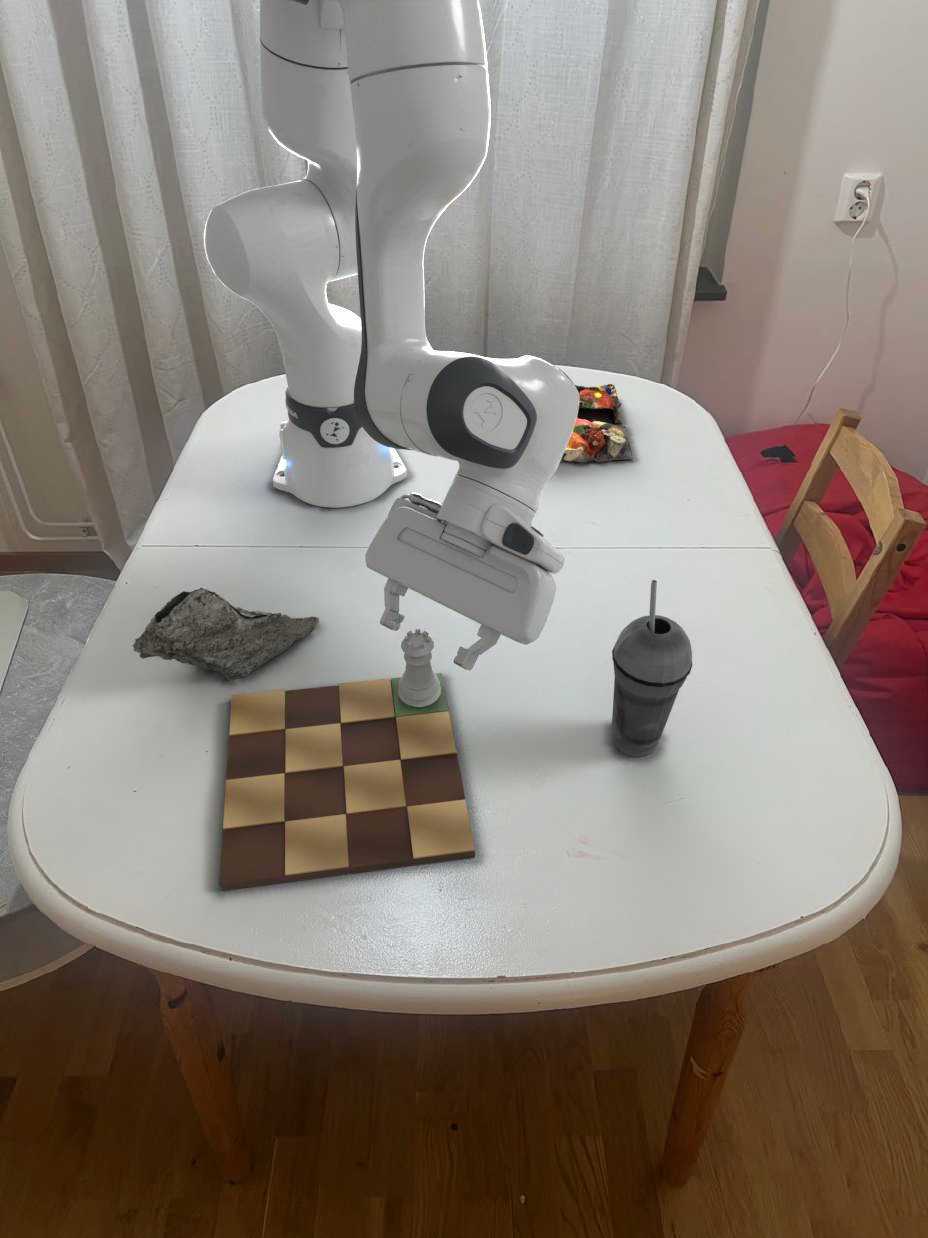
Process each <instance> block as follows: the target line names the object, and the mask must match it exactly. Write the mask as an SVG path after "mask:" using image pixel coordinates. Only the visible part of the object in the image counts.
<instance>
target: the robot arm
mask: <svg viewBox="0 0 928 1238" xmlns="http://www.w3.org/2000/svg"><path fill="white" fill-rule="evenodd" d="M486 47H487V46H486V39H485V31H484V23H483V17H482V9H481V5H480V0H259V52H260V56H259V57H260V88H261V90H260V91H261V92H260V93H261V114H262V117H263V120H264V123H265V125H266V127H267V129H268V131H269V133H270V134H271V136H272V137H273V139H274V140H275V141H276V142H277V143H278V145H280V146H281V147H282V148H284V149H285V150H287V151H288V152H289V153H292V154H293V155H296V156H297V157H299V158H302V159H304V160H306V161H307V173H306V175H305V177H304V178H301V179H299V180H296V181H290V182H285V183H279V184H276V185H269V186H264V187H260V188H259V187H258V188H254V189H248V190H247V191H244V192H242V193H240V194H238V195H235V196H233V197H231V198H229V199H227V200H225V201H222V202H221V203H218V204H217V205H215V206H213V207H212V209H211V210H210V212H209V214H208V216H207V219H206V221H205V226H204V233H203V239H204V240H203V242H204V243H203V245H204V250H205V254H206V259H207V262H208V264H209V266H210V268H211V270H212V272H213V274H214V275H215V276H216V278H217V279H218V280H219V281H220V283H222V285H223V286H224V287H225V288H227V290H229V291H230V292H232V293H233V294H235V295H237V297H240V298H242V299H245V300H246V301H248V302H249V303H250V304H252V305H254V306H255V307H256V308H257V309H258V310H260V311H261V313H262V314H263V315H264V316H265V317H266V319H267V320H268V322H269V323H270V325H271V326H272V328H273V330H274V332H275V335H276V338H277V340H278V345H279V348H280V354H281V358H282V362H283V366H284V367H283V368H284V373H285V379H286V388H285V392H284V395H285V400H284V401H285V407H286V411H287V417H288V420H287V421H284V420H283V421H281V422H280V429H279V435H278V436H279V440H280V441H279V442H280V448H281V456H280V459H279V461H278V464H277V465H276V468H275V471H274V474H273V477H272V486H273V488H274V489H276V490H280V491H283V492H286V493H290V494H291V495H293V496H294V497H296V498H297V499H299V500H300V501H302V502H304V503H307V504H308V505H312V506H316V507H322V508H330V509H331V508H332V509H333V508H338V509H339V508H348V507H355V506H359V505H363V504H366V503H368V502H371V501H374V500H375V499H377V498H378V497H379V496H381V495H383V494H384V493H385V492H386V491H387V490H389V488H390V487H391V486H392V485H394V484H397V483H398V482H401V481H403V480H405V479H406V478H407V477H408V470H407V467H406V465H405V464H404V462H403V460H402V459H401V457H400V456H399V454H398V452H397V450H406V451H415V452H418V453H422V454H425V455H429V456H433V457H439V458H442V459H446V460H451V461H456V462H458V469H457V472H456V473H455V476H454V477H453V480H452V482H451V484H450V486H449V489H448V490H447V492H446V495H445V497H444V500H443V501H442V503H441V502H438V501H436V500H435V499H434V500H433V499H431V498H427V497H425V496H424V495H422V494H421V493H418V492H411V493H410V494H403V495H401V496H399V497H397V498H396V499H394V501H393V503H392V505H391V508H390V509H389V511H388V514H387V517H386V518H385V520H384V522H383V523H382V524H381V526H380V527H379V529H378V530H377V532H376V534H375V536H374V537H373V539H372V541H371V542H370V544H369V546H368V548H367V549H366V552H365V555H364V556H365V558H364V559H365V565H366V568H367V569H369V570H371V571H373V572H375V573H377V574H379V575H381V576H383V577H385V578H387V581H386V583H385V585H384V587H383V594H384V595H383V596H384V597H383V598H384V608H385V609H384V610H383V613H382V615H381V618H380V620H379V624H380V625H381V626H382V627H384V628H386V629H389V630H391V631H395V632H397V631H399V629H400V628H401V623H403V622H404V619H405V617H406V616H405V615H403V614H401V612H400V596H402V597H405V596H406V594H407V591H408V590H411V591H413V592H416V593H417V594H420V595H421V596H423V597H425V598H427V599H430V600H431V601H433V602H435V603H437V604H439V605H441V606H444V607H445V608H448V609H450V610H451V611H454V612H455V613H458V614H459V615H462V616H464V617H465V618H468V619H470V620H472V621H474V622H476V623H477V624H480V627H479V629H478V631H477V633H476V636H477V637H479V639H478V640H477V641H476V642H474V643H473V644H472V645H470V646H469V647H468V648H467V647H463V646H459V647H458V650H457V652H456V655H455V656H454V658H453V664H454V665H457V666H458V667H461V668H462V669H464V670H466V671H472V670H473V669H474V667H475V665H476V663H477V660H478V658H479V657H480V656H481V655H483V654H484V653H486V652H487V651H488V650H490V649H491V648H493V647H494V646H495V645H496V644H498V642H499V639H500V637H501V635H502V636H504V637H505V638H508V639H510V640H512V641H514V642H516V643H518V644H522V645H525V646H526V645H530V644H531V643H533V642H535V641H537V640H538V639H539V637H540V635H541V633H542V631H543V629H544V627H545V625H546V623H547V620H548V617H549V615H550V612H551V610H552V606H553V603H554V600H555V597H556V591H557V590H556V589H557V585H556V580H555V577H553V575H552V574H558V573H559V572H560V571H561V570H562V568H563V565H564V563H565V556H564V554H563V553H562V552H561V551H560V550H559V549H557V548H556V547H555V545H553V544H552V543H551V542H550V541H549V540H547V539H546V538H545V537H544V534H543V533H542V532H541V531H540V530H538V529H537V528H535V527H534V526H532V524H533V523H532V522H533V520H534V518H535V516H536V514H537V512H538V509H539V502H540V497H541V494H542V492H543V490H544V488H545V486H546V484H547V483H548V482H549V481H550V480H551V479H552V478H553V476H554V475H555V473H556V471H557V469H558V468H559V465H560V463H561V461H562V458H563V456H564V454H565V453H564V452H565V450H566V447H567V445H568V443H569V440H570V437H571V435H572V432H573V429H574V426H575V423H576V419H577V416H579V409H580V408H579V401H580V398H579V393H578V390H577V388H576V387H575V385H576V384H575V383H574V381H573V380H572V379H571V378H570V376H568V374H566V373H565V372H564V371H563V370H561V369H560V368H559V367H558V366H556V365H553V364H552V363H550V362H549V361H548V360H546V359H544V358H541V357H537V356H533V355H523V356H522V355H521V356H520V357H518V358H493V357H485V356H481V355H478V354H474V353H467V352H459V351H450V350H446V351H445V350H442V351H441V350H434V349H433V348H432V346H431V344H430V343H429V340H428V337H427V333H426V310H425V307H426V306H425V303H426V302H425V277H424V276H425V274H424V273H425V271H424V267H425V266H424V257H425V256H424V255H425V249H426V245H427V240H428V237H429V235H430V233H431V231H432V228H434V225H435V223H436V222H437V221H438V219H439V218H440V216H442V214H443V213H444V211H445V210H446V209H447V208H448V207H449V205H451V204H452V203H453V202H454V201H455V200H456V199H457V198H459V197H460V195H462V194H463V193H464V192H465V191H466V190H467V188H469V186H470V185H471V184H472V182H473V181H474V179H476V177H477V175H478V174H479V172H480V170H481V168H482V166H483V165H484V162H485V160H486V159H487V155H488V148H489V141H490V131H491V117H492V113H491V109H492V108H491V94H490V93H491V92H490V80H489V71H488V70H489V69H488V59H487V57H488V56H487V48H486ZM356 275H357V281H358V282H357V283H358V297H359V313H360V317H359V316H358V315H357V314H355V313H354V312H352V311H350V310H349V309H346V308H344V307H341V306H340V305H339V306H338V305H336V304H332V303H329V300H328V297H327V284H329V283H331V282H333V281H334V282H335V281H338V280H343V279H345V278H350V277H353V276H356ZM407 499H408V500H407Z"/></svg>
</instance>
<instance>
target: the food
mask: <svg viewBox="0 0 928 1238" xmlns="http://www.w3.org/2000/svg"><path fill="white" fill-rule="evenodd" d="M574 385H575V387H576V388H577V390H578V393H579V398H580V401H579V409H583V410H585V409H589V410H602V409H606V410H611V411H612V415H613V420H614V423H615V424H623V421H622V417H621V413H620V410H619V409H620V407H621V406H622V403H621V402H620V400H619V397H618V393H617V389H616V387H615V386H616V385H615V384H613V383H607V384H604V385H598V386H589V387H588V386H584V385H577V384H574ZM578 416H579V415H577V419H576V423H575V426H574V429H573V432H572V435H571V437H570V440H569V443H568V445H567V447H566V450H565V452H564V454H565V456H564V457H563V460H564V461H566V462H567V461H568V462H575V463H582V464H585V463H586V462H591V461H595V462H597V463H601V462H607V461H615V460H619V461H620V460H622V461H623V460H634V456H633V451H632V448H631V444H630V440H629V436H628V432H627V428H626V426H624V425H614V424H610V423H607V422H603V421H599V420H596V419H595V418H593V421H592V422H591V421H590V420H587V419H585V418H583V419H582V418H579V417H578Z"/></svg>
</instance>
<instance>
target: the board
mask: <svg viewBox="0 0 928 1238" xmlns="http://www.w3.org/2000/svg"><path fill="white" fill-rule="evenodd" d="M435 674H436V675H437V677H438V679H439V681H440V687H441V694H440V696H439V698H438V699H437V700H436V701H435V702H434V703H432V704H431V705H429V706H426V707H423V708H419V707H412V706H409V705H407V704H406V703H404V702H403V701H402V700H401V699H400V697H399V695H398V686H399V680H400V678H401V677H402V676H399V677H392V678H391V677H390V678H380V679H372V680H363V681H352V682H341V683H338V684H336V685H325V686H318V687H310V688H308V687H307V688H299V689H298V688H297V689H289V690H288V689H287V690H285V689H277V690H268V691H266V690H265V691H258V692H256V691H255V692H248V693H239V694H232V695H231V702H230V716H229V717H230V718H229V730H228V732H229V733H228V746H227V747H228V748H227V764H226V779H225V790H224V791H225V792H224V805H223V818H222V819H223V821H222V836H221V838H222V839H221V850H220V851H221V852H220V865H219V866H220V867H219V879H218V881H219V882H218V885H219V888H220V891H229V890H237V889H245V888H251V887H260V886H267V885H273V884H275V885H276V884H283V883H290V882H297V881H306V880H313V879H321V878H326V877H327V878H328V877H336V876H342V875H350V874H351V875H352V874H359V873H365V872H367V873H368V872H373V871H382V870H390V869H396V868H405V867H411V866H412V867H413V866H419V865H420V866H421V865H428V864H435V863H442V862H450V861H457V860H465V859H472V858H475V857H476V847H475V841H474V838H473V837H474V836H473V831H472V826H471V820H470V815H469V811H468V805H467V799H466V794H465V789H464V783H463V779H462V774H461V768H460V762H459V757H458V751H457V746H456V741H455V735H454V730H453V725H452V720H451V719H452V718H451V713H450V708H449V704H448V698H447V694H446V688H445V682H444V678H443V673H442V672H438V673H435Z"/></svg>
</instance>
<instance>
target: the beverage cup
mask: <svg viewBox="0 0 928 1238" xmlns="http://www.w3.org/2000/svg"><path fill="white" fill-rule="evenodd" d="M657 589H658V581H657V580H656V579H651V581H650V594H649V595H650V597H649V600H650V601H649V614H648V615H643V616H641V617H639V618H636V619H634V620H632V621H631V622H630V623H628V624H627V625H626V626H625V627H624V628H623V629H622V630H621V631H620V633H619V635H618V637H617V639H616V641H615V643H614V645H613V648H612V651H611V659H612V662H613V663H612V664H613V674H614V683H613V700H612V715H611V716H612V717H611V721H612V722H611V731H612V734H611V740H612V743H613V745H614V747H615V748H616V749H617V750H618V751H619V752H620V753H622V754H624V755H627V756H629V757H632V758H642V757H643V758H644V757H647V756H649V755H651V754H652V753H653V752H655V750H656V749H657V746H658V744H659V741H660V740H661V738H662V735H663V732H664V730H665V728H666V725H667V722H668V719H669V718H670V714H671V712H672V709H673V707H674V705H675V702H676V699H677V696H678V694H679V691H680V689H681V688H682V687H683V685H684V683H685V681H686V680H687V677H688V676H689V675H690V674H691V671H692V668H693V651H692V645H691V640H690V638H689V636H688V634H687V633H686V631H685V629H684V628H683V627H682V626H680V625H679V624H678V623H677V622H676V621H675V620H673V619H671V618H668V617H667V616H662V615H659V614H658V615H657V614H656V605H657Z"/></svg>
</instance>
